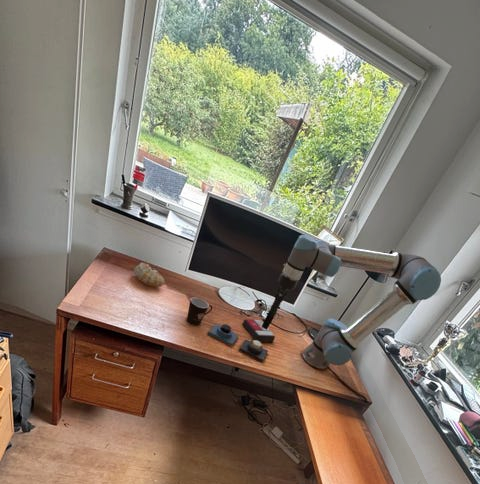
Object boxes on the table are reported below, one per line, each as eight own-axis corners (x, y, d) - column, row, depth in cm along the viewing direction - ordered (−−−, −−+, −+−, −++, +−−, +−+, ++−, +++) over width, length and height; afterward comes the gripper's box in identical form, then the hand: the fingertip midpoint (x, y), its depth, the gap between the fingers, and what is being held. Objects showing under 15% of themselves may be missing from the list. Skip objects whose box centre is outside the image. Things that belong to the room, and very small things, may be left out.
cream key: (261, 346, 160) (262, 343, 159) (258, 350, 157) (260, 347, 155) (252, 342, 160) (254, 338, 159) (250, 346, 157) (252, 342, 155)
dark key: (230, 331, 160) (232, 327, 159) (227, 334, 157) (229, 331, 155) (222, 326, 160) (224, 323, 159) (219, 330, 156) (220, 326, 155)
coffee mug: (185, 324, 155) (191, 305, 149) (183, 314, 161) (189, 295, 154) (209, 330, 159) (216, 311, 153) (207, 320, 165) (213, 302, 159)
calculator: (261, 319, 180) (276, 335, 171) (258, 326, 183) (272, 342, 174) (244, 317, 174) (259, 334, 165) (241, 325, 176) (255, 341, 168)
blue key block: (237, 337, 164) (240, 331, 162) (231, 346, 156) (233, 340, 154) (215, 326, 164) (217, 320, 162) (207, 334, 156) (210, 328, 154)
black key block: (266, 353, 164) (269, 347, 162) (261, 362, 157) (265, 356, 154) (244, 341, 164) (247, 335, 162) (238, 350, 156) (241, 344, 154)
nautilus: (133, 267, 176) (161, 277, 182) (130, 284, 160) (162, 294, 166) (136, 252, 171) (166, 263, 177) (134, 268, 156) (166, 279, 162)
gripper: (286, 266, 145) (264, 312, 159) (276, 278, 128) (253, 329, 142) (302, 274, 145) (278, 319, 159) (294, 288, 128) (269, 337, 143)
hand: (266, 324), depth 151 cm, fingers open, 8 cm apart
